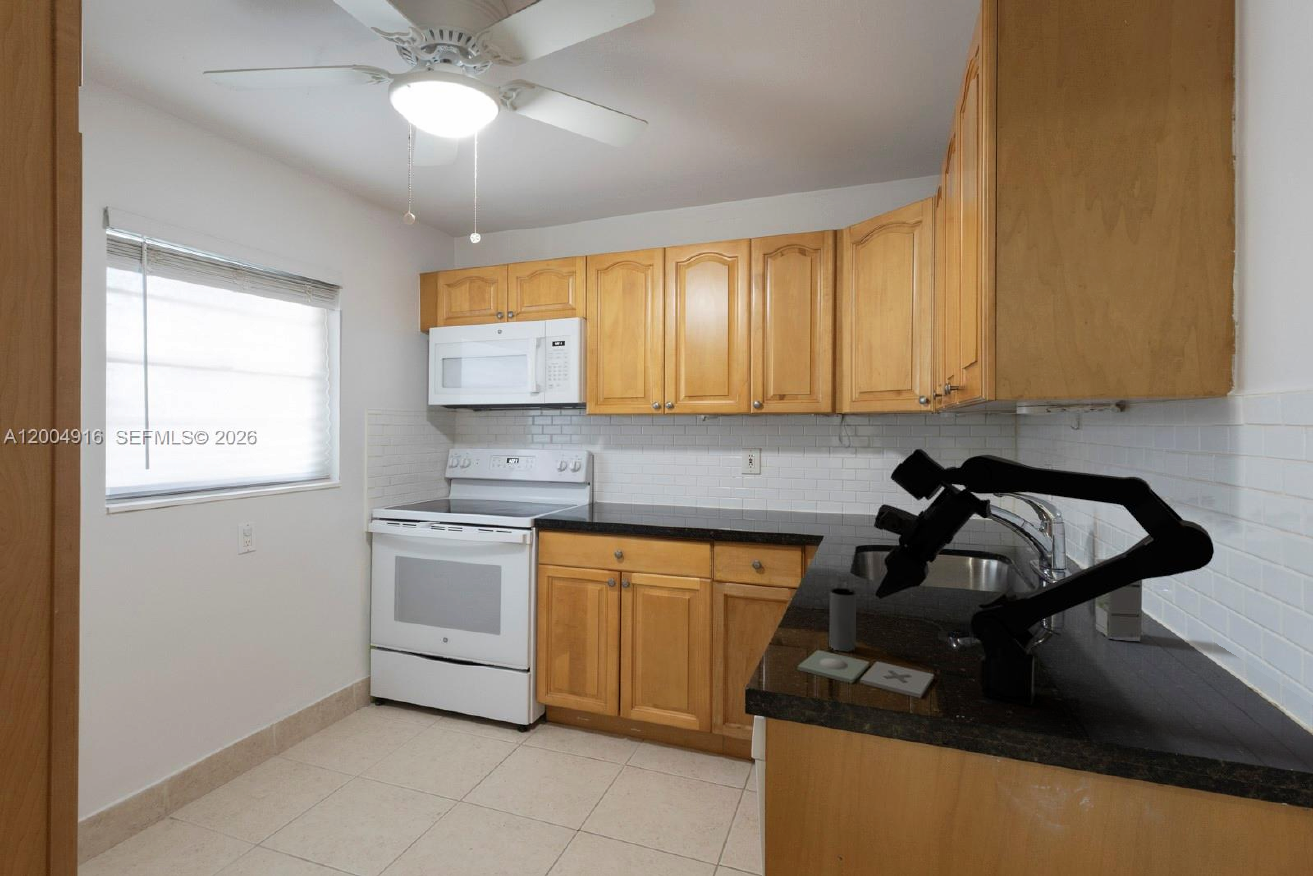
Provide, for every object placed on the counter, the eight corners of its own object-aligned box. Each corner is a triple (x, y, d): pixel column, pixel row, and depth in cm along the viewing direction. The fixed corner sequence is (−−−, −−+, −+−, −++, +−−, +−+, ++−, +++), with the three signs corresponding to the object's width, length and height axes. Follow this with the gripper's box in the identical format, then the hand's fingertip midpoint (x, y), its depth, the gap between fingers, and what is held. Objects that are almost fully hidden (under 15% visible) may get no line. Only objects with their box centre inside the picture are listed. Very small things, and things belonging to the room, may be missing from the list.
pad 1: (869, 665, 106) (869, 661, 106) (851, 683, 99) (851, 679, 99) (817, 653, 111) (817, 649, 111) (797, 669, 104) (797, 665, 104)
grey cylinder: (845, 642, 117) (846, 587, 117) (860, 650, 113) (861, 593, 113) (824, 644, 116) (825, 589, 116) (838, 653, 112) (839, 595, 111)
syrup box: (1142, 642, 118) (1145, 566, 118) (1107, 640, 120) (1109, 564, 119) (1126, 632, 124) (1128, 559, 124) (1092, 630, 125) (1095, 558, 125)
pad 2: (933, 678, 101) (933, 673, 101) (920, 698, 94) (920, 693, 94) (876, 665, 106) (876, 660, 106) (860, 683, 99) (860, 678, 99)
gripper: (908, 477, 112) (856, 541, 118) (888, 500, 96) (829, 572, 102) (964, 518, 108) (907, 581, 114) (953, 548, 92) (888, 620, 98)
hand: (883, 587), depth 107 cm, fingers open, 9 cm apart
